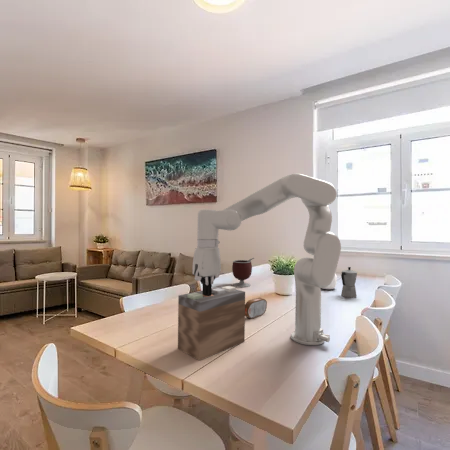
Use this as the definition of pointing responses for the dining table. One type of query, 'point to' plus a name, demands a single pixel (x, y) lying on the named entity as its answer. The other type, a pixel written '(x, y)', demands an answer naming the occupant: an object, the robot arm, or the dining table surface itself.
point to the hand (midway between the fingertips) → (207, 295)
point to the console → (211, 323)
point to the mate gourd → (242, 271)
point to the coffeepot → (348, 283)
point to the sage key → (194, 296)
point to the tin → (255, 307)
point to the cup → (332, 283)
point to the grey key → (218, 291)
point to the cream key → (229, 288)
